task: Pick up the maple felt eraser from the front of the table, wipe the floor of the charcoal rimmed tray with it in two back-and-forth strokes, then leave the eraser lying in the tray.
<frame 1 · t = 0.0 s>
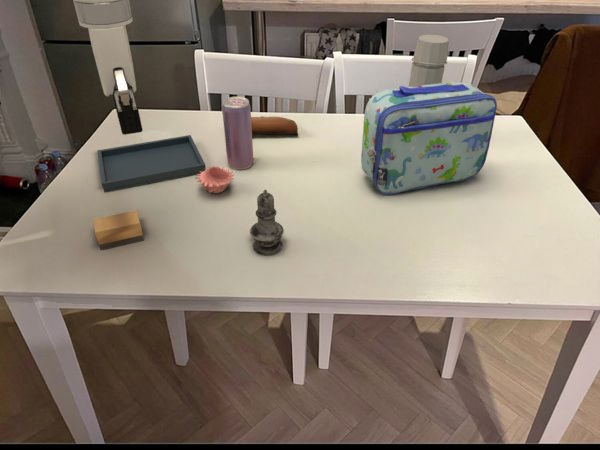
hand: (129, 120, 78), 20 cm above the table, tool pointing down, fingers open, 9 cm apart
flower: (216, 191, 97), on the table
sunglasses case: (262, 132, 120), on the table
lunch box: (417, 180, 102), on the table
chess bishop: (267, 246, 83), on the table
tray: (151, 165, 106), on the table
beverage can: (240, 164, 107), on the table
eraser: (121, 238, 85), on the table
water bottle: (415, 141, 117), on the table
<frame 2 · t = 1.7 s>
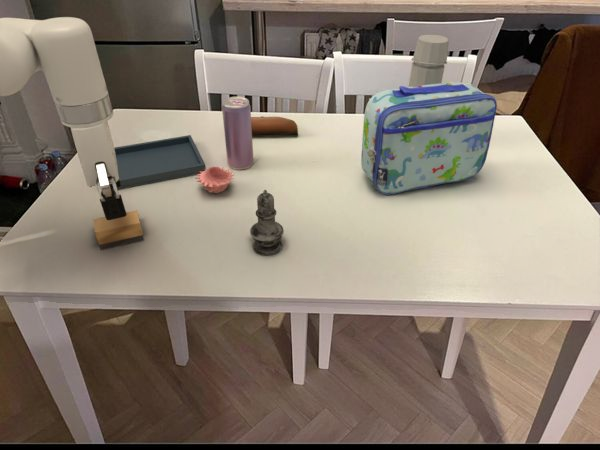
hand: (114, 202, 80), 8 cm above the table, tool pointing down, fingers open, 9 cm apart
nothing on the table moved.
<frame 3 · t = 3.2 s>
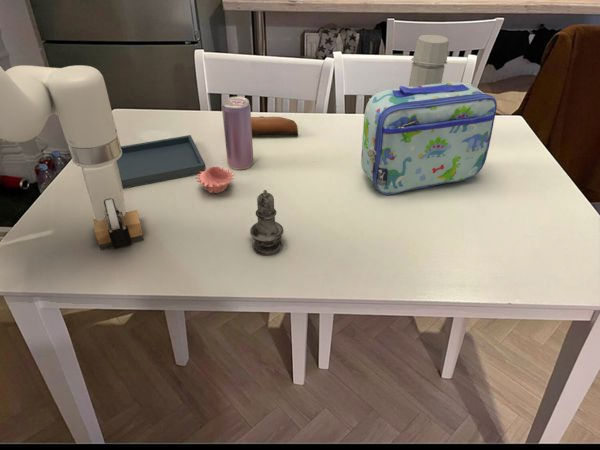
hand: (121, 236, 84), 0 cm above the table, tool pointing down, fingers closed on eraser, 4 cm apart
eraser: (121, 238, 85), on the table, touching gripper
everything else where it was.
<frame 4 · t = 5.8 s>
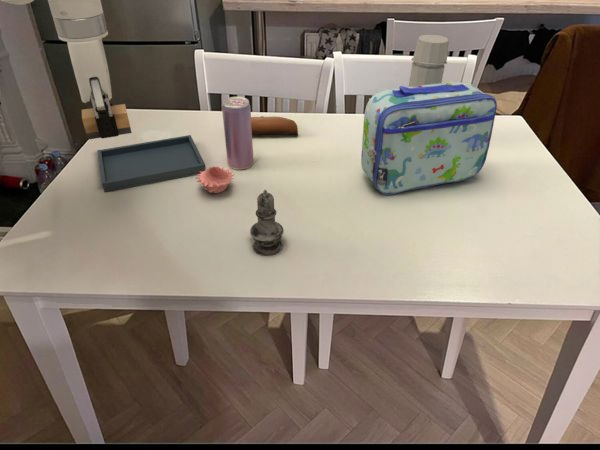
hand: (108, 129, 85), 15 cm above the table, tool pointing down, fingers closed on eraser, 4 cm apart
eraser: (109, 131, 85), point 15 cm above the table, touching gripper
everything else where it was.
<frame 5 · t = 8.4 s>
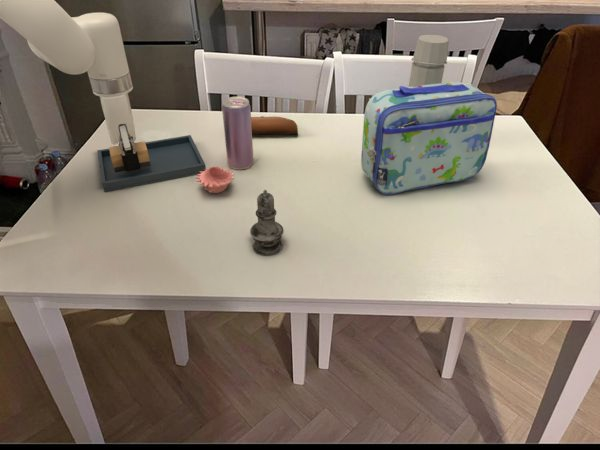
hand: (131, 163, 102), 2 cm above the table, tool pointing down, fingers closed on eraser, 4 cm apart
eraser: (132, 164, 102), point 2 cm above the table, touching gripper
everything else where it was.
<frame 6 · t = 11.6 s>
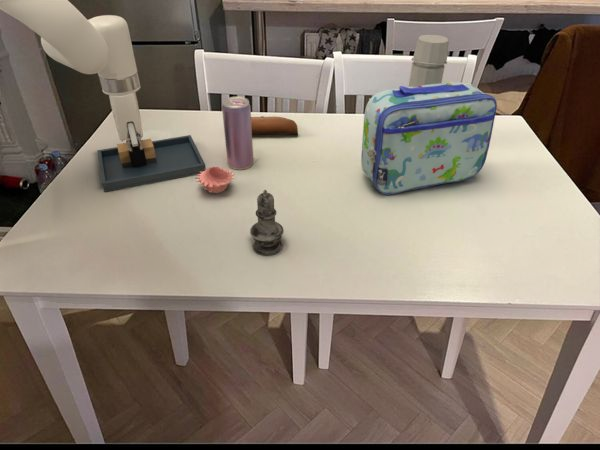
hand: (138, 159, 106), 1 cm above the table, tool pointing down, fingers closed on eraser, 4 cm apart
eraser: (138, 160, 106), point 1 cm above the table, touching gripper
everything else where it was.
when the fingers open (1 cm above the table, at t = 13.9 s): eraser stays where it is, resting on tray.
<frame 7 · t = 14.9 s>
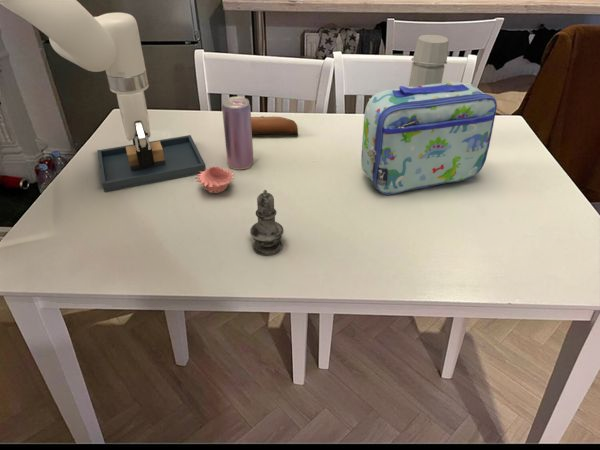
hand: (144, 155, 104), 3 cm above the table, tool pointing down, fingers open, 9 cm apart
eraser: (147, 163, 105), point 1 cm above the table, touching tray
everything else where it was.
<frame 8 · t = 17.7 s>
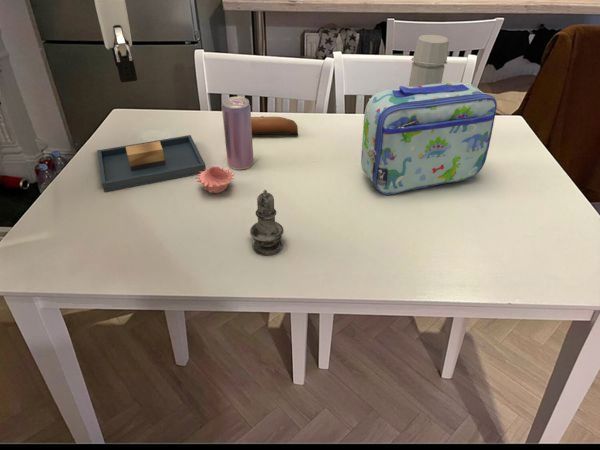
hand: (126, 73, 95), 20 cm above the table, tool pointing down, fingers open, 9 cm apart
nothing on the table moved.
at the end: eraser inside the target area in the tray (0.9 cm from its centre), point 0.6 cm above the tray's base; eraser tilted 0°; eraser moved 26.3 cm from its start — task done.
